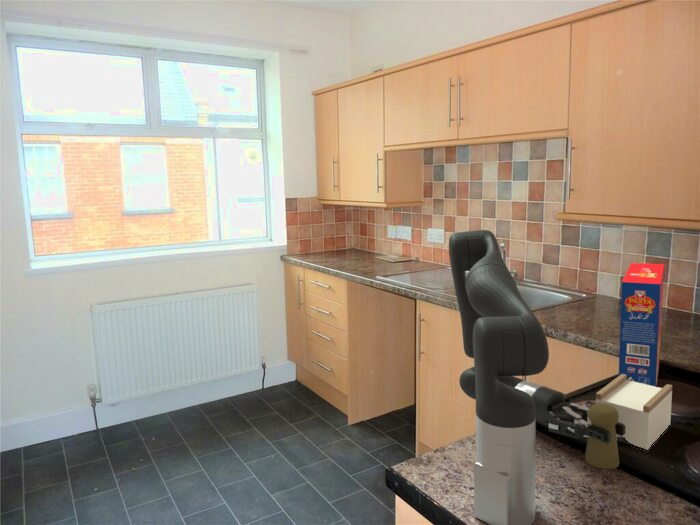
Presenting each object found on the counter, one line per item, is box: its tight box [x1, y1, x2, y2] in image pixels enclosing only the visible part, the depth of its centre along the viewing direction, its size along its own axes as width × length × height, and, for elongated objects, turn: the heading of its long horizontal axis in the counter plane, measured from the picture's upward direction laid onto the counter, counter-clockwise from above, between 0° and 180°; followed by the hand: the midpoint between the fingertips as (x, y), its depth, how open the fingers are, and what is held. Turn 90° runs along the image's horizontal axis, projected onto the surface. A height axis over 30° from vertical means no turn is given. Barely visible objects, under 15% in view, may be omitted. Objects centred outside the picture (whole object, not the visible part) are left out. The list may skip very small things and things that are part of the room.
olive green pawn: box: [584, 403, 620, 470], centre depth 97 cm, size 6×6×11 cm
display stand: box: [595, 374, 673, 451], centre depth 107 cm, size 14×10×9 cm
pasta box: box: [618, 262, 665, 387], centre depth 134 cm, size 28×8×28 cm, turn 147°
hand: (616, 434), depth 94 cm, fingers closed on olive green pawn, 4 cm apart
